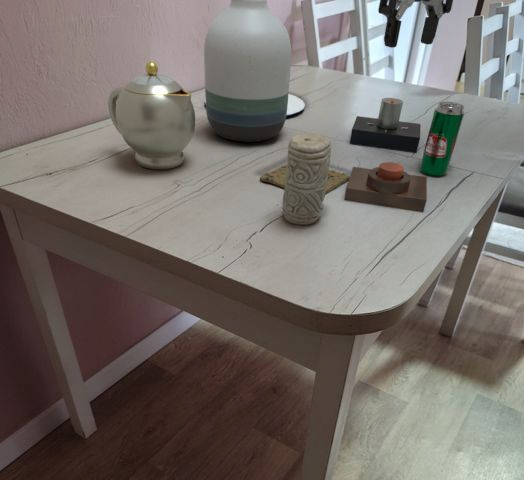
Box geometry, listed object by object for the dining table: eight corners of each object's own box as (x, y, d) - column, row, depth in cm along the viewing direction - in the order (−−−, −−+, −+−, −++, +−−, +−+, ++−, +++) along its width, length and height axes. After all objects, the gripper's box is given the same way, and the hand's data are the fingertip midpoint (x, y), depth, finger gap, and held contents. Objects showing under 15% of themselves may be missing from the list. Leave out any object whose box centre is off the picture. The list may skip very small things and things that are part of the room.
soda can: (413, 171, 93) (431, 103, 85) (427, 165, 96) (445, 99, 88) (437, 180, 90) (457, 110, 82) (450, 173, 93) (471, 105, 85)
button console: (423, 188, 87) (429, 166, 84) (423, 212, 79) (429, 188, 77) (350, 178, 89) (354, 156, 86) (344, 200, 81) (348, 177, 79)
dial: (377, 122, 106) (382, 95, 102) (397, 124, 105) (403, 97, 102) (376, 128, 102) (381, 100, 99) (397, 130, 102) (403, 102, 98)
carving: (278, 226, 73) (284, 144, 65) (285, 205, 79) (291, 127, 71) (319, 232, 73) (331, 149, 65) (324, 210, 78) (335, 132, 70)
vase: (230, 118, 113) (230, -11, 97) (297, 131, 108) (309, -2, 92) (191, 138, 101) (184, -4, 85) (264, 154, 96) (271, 6, 80)
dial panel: (417, 138, 108) (420, 122, 106) (416, 152, 101) (420, 136, 99) (354, 130, 111) (357, 115, 109) (349, 143, 103) (352, 128, 101)
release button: (401, 174, 82) (404, 164, 81) (400, 183, 79) (403, 172, 78) (377, 171, 82) (380, 160, 81) (376, 179, 79) (378, 169, 78)
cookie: (316, 200, 81) (316, 194, 80) (257, 180, 86) (258, 174, 85) (351, 179, 88) (352, 174, 87) (295, 162, 93) (296, 157, 93)
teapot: (214, 159, 93) (212, 61, 82) (171, 183, 83) (163, 76, 73) (138, 141, 98) (127, 47, 88) (90, 161, 89) (72, 58, 78)
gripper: (448, -82, 77) (421, 39, 87) (381, -87, 71) (361, 43, 81) (487, -80, 72) (454, 47, 83) (420, -86, 66) (393, 52, 77)
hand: (408, 45), depth 82 cm, fingers open, 8 cm apart
